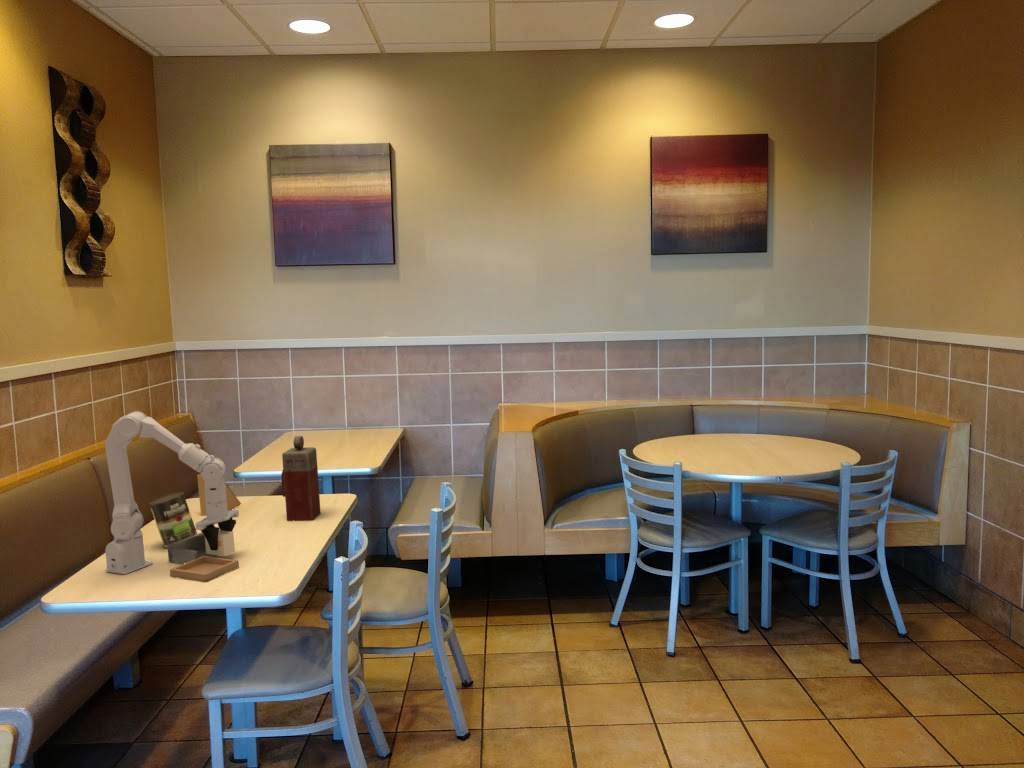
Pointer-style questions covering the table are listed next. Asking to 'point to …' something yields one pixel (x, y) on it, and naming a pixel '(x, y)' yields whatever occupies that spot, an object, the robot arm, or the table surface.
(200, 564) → the tray
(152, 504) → the coffee can
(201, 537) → the bay
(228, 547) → the block with grey knob
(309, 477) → the red pepper mill
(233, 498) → the sandwich container
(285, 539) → the table surface
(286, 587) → the table surface
